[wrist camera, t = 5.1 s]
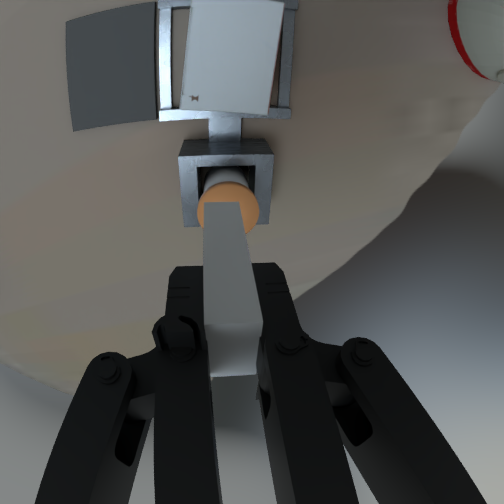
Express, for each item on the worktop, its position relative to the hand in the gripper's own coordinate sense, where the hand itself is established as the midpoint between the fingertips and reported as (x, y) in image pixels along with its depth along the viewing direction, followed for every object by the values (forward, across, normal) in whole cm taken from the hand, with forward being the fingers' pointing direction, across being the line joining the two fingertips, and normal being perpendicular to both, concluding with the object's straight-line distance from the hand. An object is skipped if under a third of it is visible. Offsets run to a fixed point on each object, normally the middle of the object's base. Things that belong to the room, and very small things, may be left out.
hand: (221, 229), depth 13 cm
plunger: (+15, +1, -4) cm, 15 cm away
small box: (+18, +1, +8) cm, 19 cm away
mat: (+18, -10, +8) cm, 22 cm away
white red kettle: (+17, +32, +20) cm, 41 cm away
